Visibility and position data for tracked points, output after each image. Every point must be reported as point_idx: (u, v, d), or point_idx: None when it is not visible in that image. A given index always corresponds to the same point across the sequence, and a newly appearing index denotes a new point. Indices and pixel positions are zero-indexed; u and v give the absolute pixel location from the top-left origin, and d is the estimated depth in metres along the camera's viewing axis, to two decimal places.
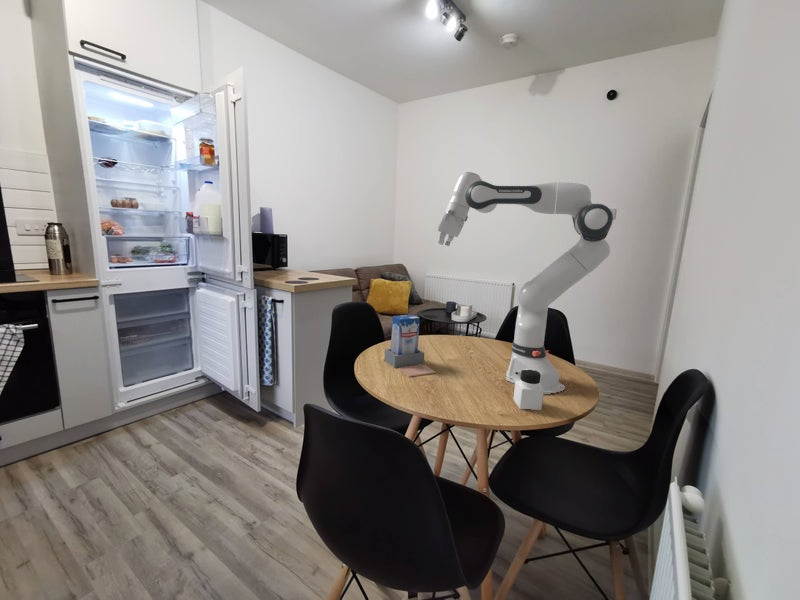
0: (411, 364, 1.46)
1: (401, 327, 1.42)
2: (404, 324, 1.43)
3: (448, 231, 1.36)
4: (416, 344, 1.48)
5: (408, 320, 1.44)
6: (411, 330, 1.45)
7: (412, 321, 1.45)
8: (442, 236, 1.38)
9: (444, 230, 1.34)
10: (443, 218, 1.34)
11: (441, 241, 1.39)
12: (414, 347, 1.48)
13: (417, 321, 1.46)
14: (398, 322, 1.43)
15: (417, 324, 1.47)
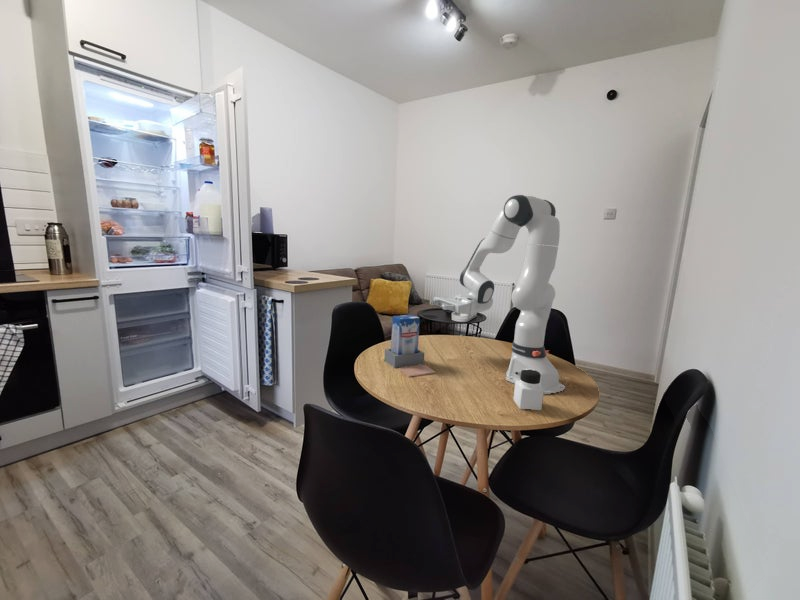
0: (411, 364, 1.46)
1: (401, 327, 1.42)
2: (404, 324, 1.43)
3: (439, 297, 1.60)
4: (416, 344, 1.48)
5: (408, 320, 1.44)
6: (411, 330, 1.45)
7: (412, 321, 1.45)
8: None
9: None
10: None
11: None
12: (414, 347, 1.48)
13: (417, 321, 1.46)
14: (398, 322, 1.43)
15: (417, 324, 1.47)
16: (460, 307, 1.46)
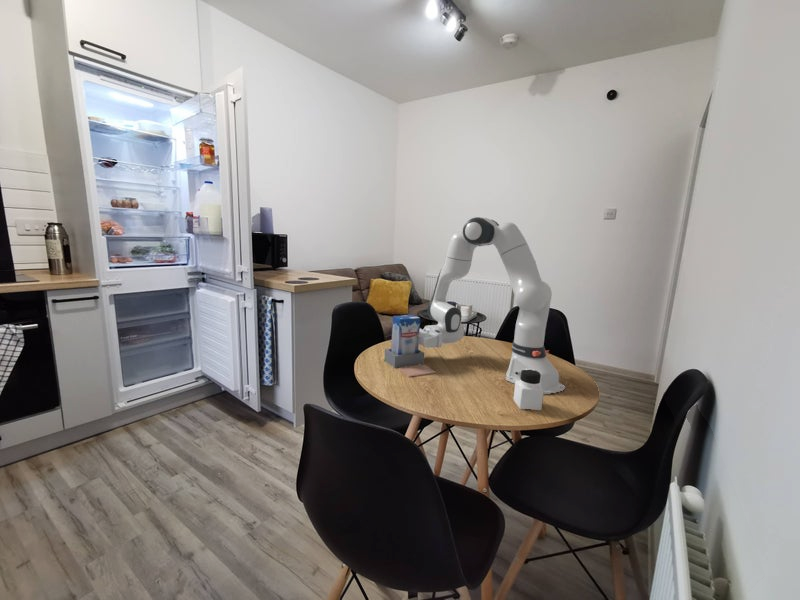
0: (411, 364, 1.46)
1: (401, 327, 1.42)
2: (404, 324, 1.43)
3: None
4: (416, 344, 1.48)
5: (408, 320, 1.43)
6: (411, 330, 1.45)
7: (412, 322, 1.45)
8: None
9: None
10: None
11: None
12: (414, 347, 1.48)
13: (417, 321, 1.46)
14: (398, 322, 1.43)
15: (417, 324, 1.46)
16: (426, 341, 1.41)
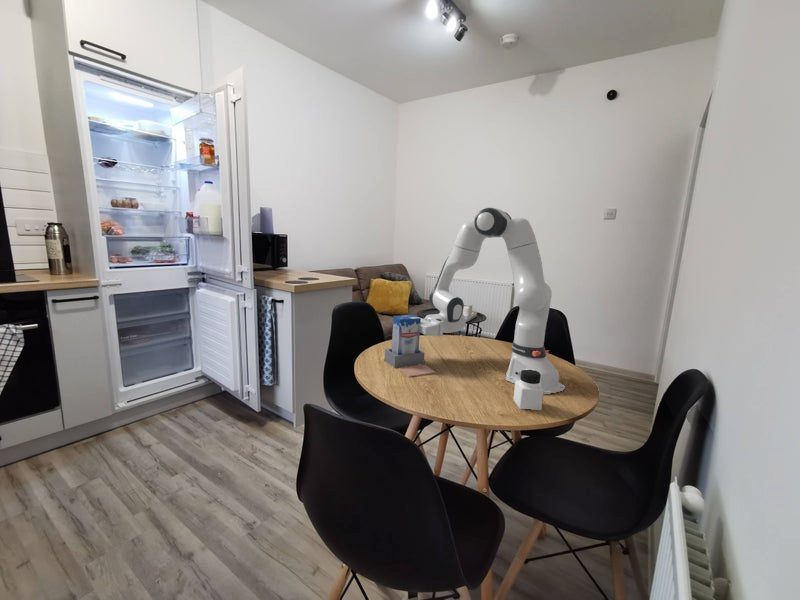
0: (411, 364, 1.46)
1: (401, 327, 1.42)
2: (404, 324, 1.43)
3: None
4: (417, 345, 1.47)
5: (408, 320, 1.43)
6: (411, 330, 1.45)
7: (412, 322, 1.44)
8: None
9: None
10: None
11: None
12: (415, 348, 1.47)
13: (418, 322, 1.46)
14: (398, 322, 1.43)
15: None
16: (427, 329, 1.40)
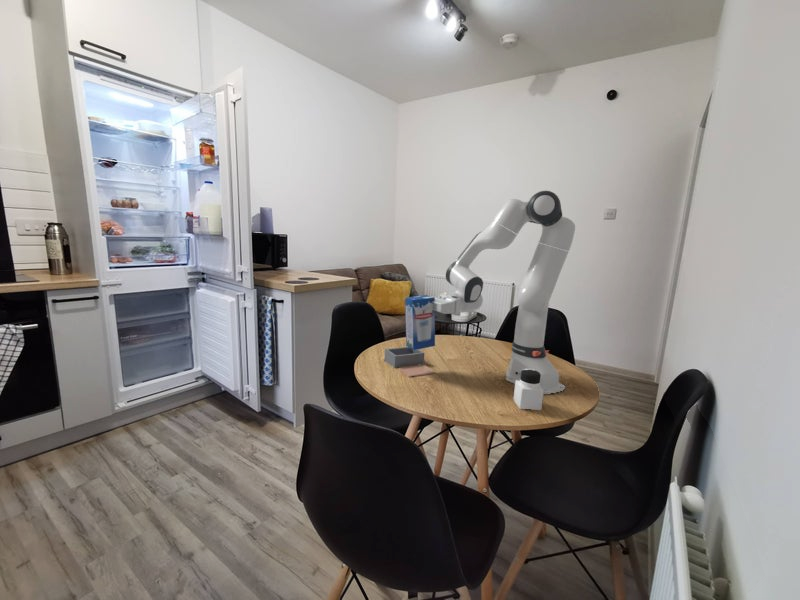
0: (411, 364, 1.46)
1: (414, 308, 1.32)
2: (417, 304, 1.33)
3: None
4: (432, 326, 1.38)
5: (421, 300, 1.33)
6: (425, 311, 1.35)
7: (426, 302, 1.34)
8: None
9: None
10: None
11: None
12: (431, 329, 1.37)
13: None
14: (411, 303, 1.33)
15: None
16: (443, 306, 1.30)
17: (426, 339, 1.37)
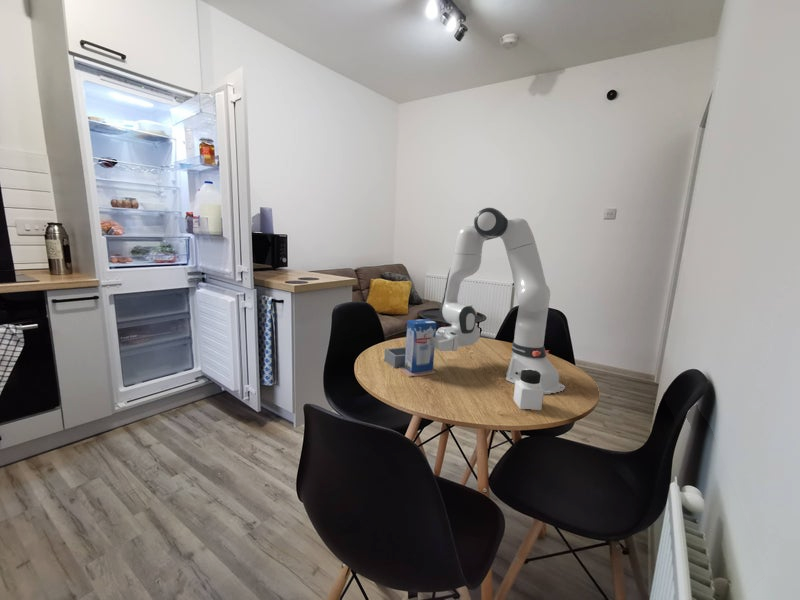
0: None
1: (416, 332, 1.33)
2: (419, 328, 1.34)
3: None
4: (432, 351, 1.38)
5: (424, 325, 1.34)
6: (427, 335, 1.36)
7: (428, 326, 1.35)
8: None
9: None
10: None
11: None
12: (430, 354, 1.38)
13: (434, 326, 1.37)
14: (413, 327, 1.34)
15: (433, 329, 1.37)
16: (441, 344, 1.31)
17: (424, 363, 1.38)
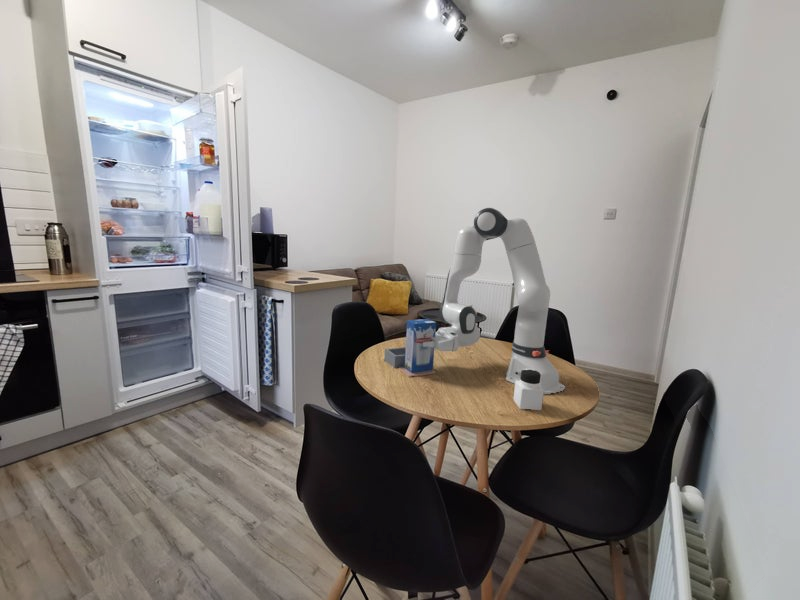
0: None
1: (415, 332, 1.33)
2: (418, 328, 1.34)
3: None
4: (432, 350, 1.39)
5: (423, 325, 1.34)
6: (426, 335, 1.36)
7: (427, 326, 1.35)
8: None
9: None
10: None
11: None
12: (430, 354, 1.38)
13: (433, 326, 1.37)
14: (412, 327, 1.34)
15: (433, 329, 1.37)
16: (441, 344, 1.31)
17: (424, 363, 1.38)
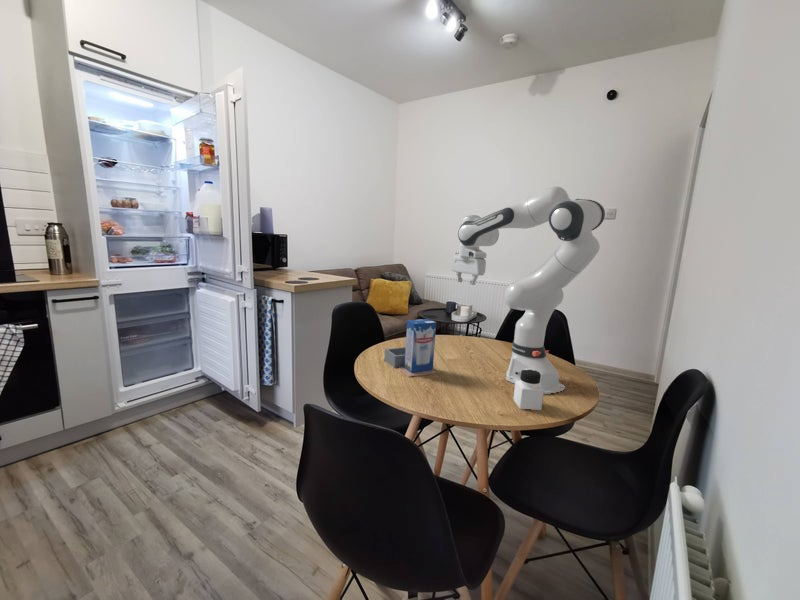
0: None
1: (415, 332, 1.33)
2: (419, 328, 1.34)
3: (455, 268, 1.62)
4: (432, 350, 1.39)
5: (423, 325, 1.34)
6: (426, 335, 1.36)
7: (427, 326, 1.35)
8: None
9: None
10: None
11: None
12: (430, 354, 1.38)
13: (433, 326, 1.37)
14: (412, 327, 1.34)
15: (433, 329, 1.37)
16: (479, 274, 1.48)
17: (424, 363, 1.38)
